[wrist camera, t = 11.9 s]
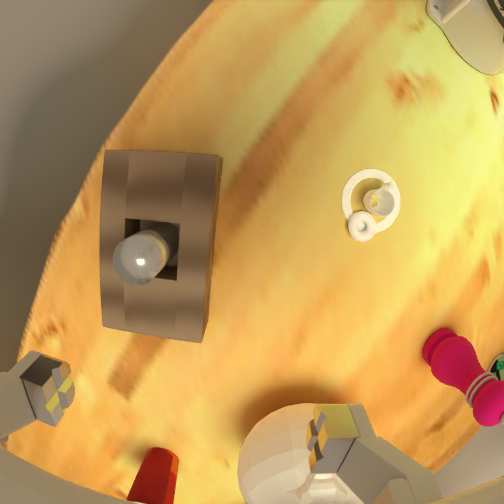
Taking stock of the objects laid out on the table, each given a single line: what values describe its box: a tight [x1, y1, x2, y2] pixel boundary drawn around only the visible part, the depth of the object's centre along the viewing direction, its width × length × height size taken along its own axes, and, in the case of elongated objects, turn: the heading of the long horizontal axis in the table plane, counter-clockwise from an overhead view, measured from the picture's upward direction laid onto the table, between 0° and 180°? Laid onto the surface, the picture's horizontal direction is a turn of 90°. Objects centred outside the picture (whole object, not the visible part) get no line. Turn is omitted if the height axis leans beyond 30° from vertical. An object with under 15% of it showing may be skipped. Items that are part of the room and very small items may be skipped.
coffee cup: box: [126, 448, 179, 504], centre depth 39 cm, size 8×8×15 cm
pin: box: [113, 222, 180, 286], centre depth 32 cm, size 4×4×10 cm
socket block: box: [100, 150, 223, 343], centre depth 34 cm, size 20×12×6 cm, turn 173°
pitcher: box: [237, 403, 364, 504], centre depth 32 cm, size 19×18×25 cm
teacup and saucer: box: [342, 169, 400, 242], centre depth 35 cm, size 9×8×4 cm
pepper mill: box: [423, 329, 504, 426], centre depth 31 cm, size 7×7×20 cm
